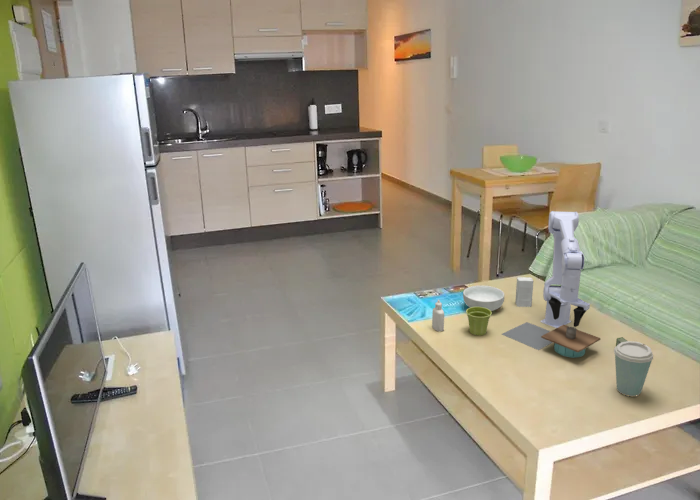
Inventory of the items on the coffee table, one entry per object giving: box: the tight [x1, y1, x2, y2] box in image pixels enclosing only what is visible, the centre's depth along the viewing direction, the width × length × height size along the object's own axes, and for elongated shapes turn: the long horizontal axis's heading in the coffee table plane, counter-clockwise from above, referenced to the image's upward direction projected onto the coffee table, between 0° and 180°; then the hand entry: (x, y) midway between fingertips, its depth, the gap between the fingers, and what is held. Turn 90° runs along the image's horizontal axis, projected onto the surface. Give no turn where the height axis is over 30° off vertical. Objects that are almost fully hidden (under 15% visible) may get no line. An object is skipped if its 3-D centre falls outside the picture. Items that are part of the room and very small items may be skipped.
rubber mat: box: [501, 321, 554, 351], centre depth 203 cm, size 16×16×1 cm
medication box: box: [615, 337, 628, 347], centre depth 188 cm, size 12×3×4 cm, turn 11°
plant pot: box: [465, 307, 493, 336], centre depth 206 cm, size 9×9×9 cm
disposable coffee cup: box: [613, 340, 654, 397], centre depth 166 cm, size 11×11×15 cm
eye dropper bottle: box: [431, 299, 445, 332], centre depth 209 cm, size 4×6×12 cm
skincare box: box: [514, 276, 534, 308], centre depth 228 cm, size 6×4×12 cm
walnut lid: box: [541, 324, 601, 352], centre depth 190 cm, size 14×14×4 cm
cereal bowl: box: [462, 285, 505, 312], centre depth 227 cm, size 17×17×7 cm
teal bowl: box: [553, 343, 586, 359], centre depth 191 cm, size 10×10×5 cm
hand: (565, 322), depth 191 cm, fingers open, 7 cm apart
